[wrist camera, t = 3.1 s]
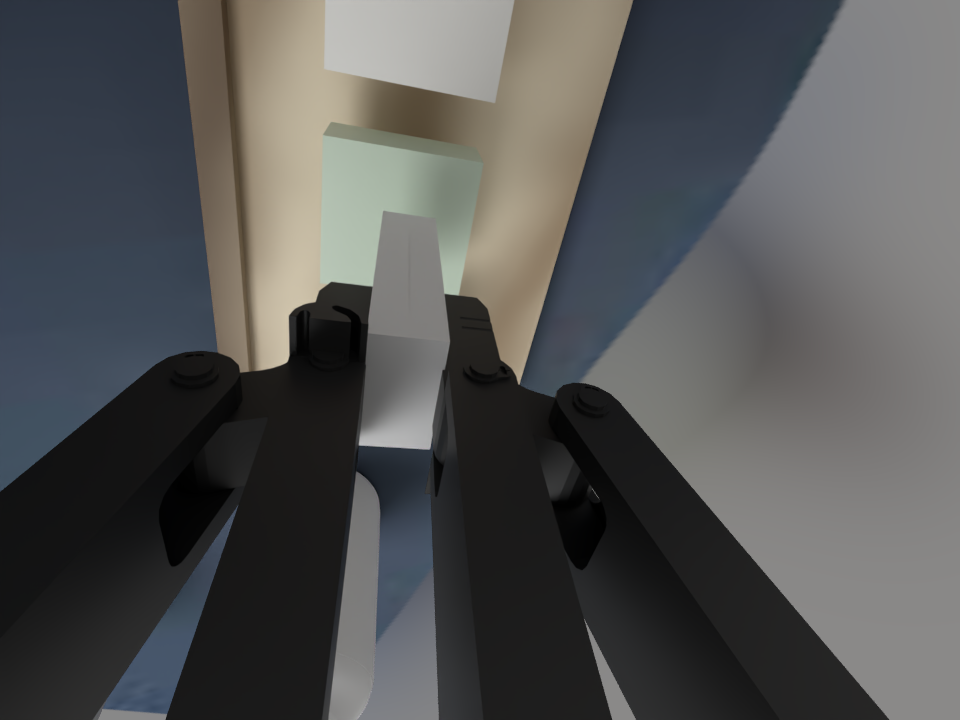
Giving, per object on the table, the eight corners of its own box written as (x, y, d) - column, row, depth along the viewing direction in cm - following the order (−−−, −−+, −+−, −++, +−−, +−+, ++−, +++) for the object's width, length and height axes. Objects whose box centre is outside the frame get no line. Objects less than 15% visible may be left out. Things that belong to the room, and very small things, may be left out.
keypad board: (238, 368, 26) (223, 401, 24) (139, -741, 10) (71, -931, 8) (505, 389, 29) (512, 420, 26) (739, -453, 13) (803, -539, 11)
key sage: (327, 258, 19) (320, 283, 17) (331, 121, 16) (322, 135, 15) (453, 274, 20) (457, 299, 18) (476, 147, 17) (483, 162, 16)
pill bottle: (403, 515, 34) (402, 803, 22) (296, 552, 35) (238, 848, 23) (342, 438, 29) (298, 748, 17) (222, 483, 30) (98, 808, 18)
